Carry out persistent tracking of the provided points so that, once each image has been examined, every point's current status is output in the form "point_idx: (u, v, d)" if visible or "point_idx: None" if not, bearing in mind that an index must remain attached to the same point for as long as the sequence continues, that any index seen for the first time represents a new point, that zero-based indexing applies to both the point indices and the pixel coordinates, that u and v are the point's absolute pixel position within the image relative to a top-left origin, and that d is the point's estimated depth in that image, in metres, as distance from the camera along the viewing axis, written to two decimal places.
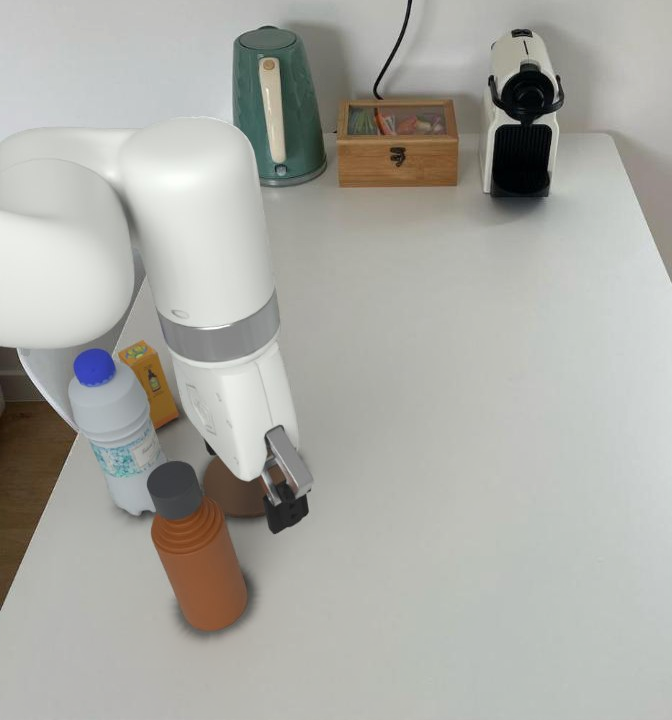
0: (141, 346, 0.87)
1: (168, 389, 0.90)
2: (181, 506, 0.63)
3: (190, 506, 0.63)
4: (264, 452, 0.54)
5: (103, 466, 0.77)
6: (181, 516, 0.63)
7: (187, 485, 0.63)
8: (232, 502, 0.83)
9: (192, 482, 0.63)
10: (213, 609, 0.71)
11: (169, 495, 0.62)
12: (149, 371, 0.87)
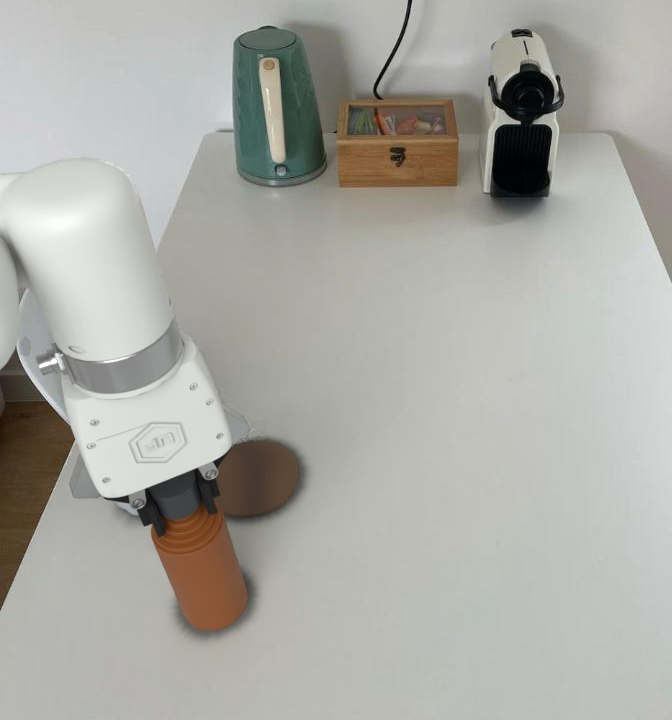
0: None
1: None
2: (181, 506, 0.63)
3: (190, 506, 0.63)
4: None
5: None
6: (181, 516, 0.63)
7: (187, 485, 0.63)
8: (232, 502, 0.83)
9: (192, 482, 0.63)
10: (213, 609, 0.71)
11: (169, 495, 0.62)
12: None
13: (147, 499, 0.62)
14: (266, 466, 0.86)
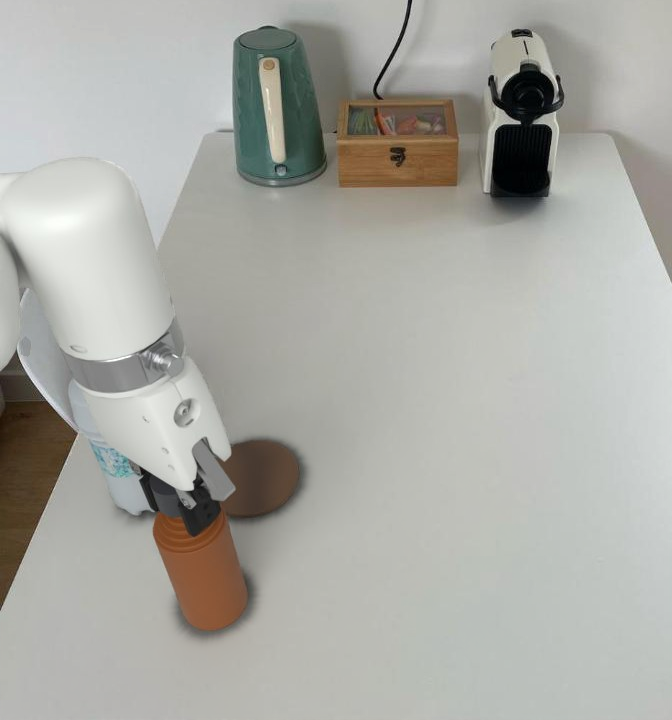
0: None
1: None
2: None
3: None
4: None
5: (103, 466, 0.77)
6: None
7: None
8: (232, 502, 0.83)
9: None
10: (213, 609, 0.71)
11: None
12: None
13: None
14: (266, 466, 0.86)
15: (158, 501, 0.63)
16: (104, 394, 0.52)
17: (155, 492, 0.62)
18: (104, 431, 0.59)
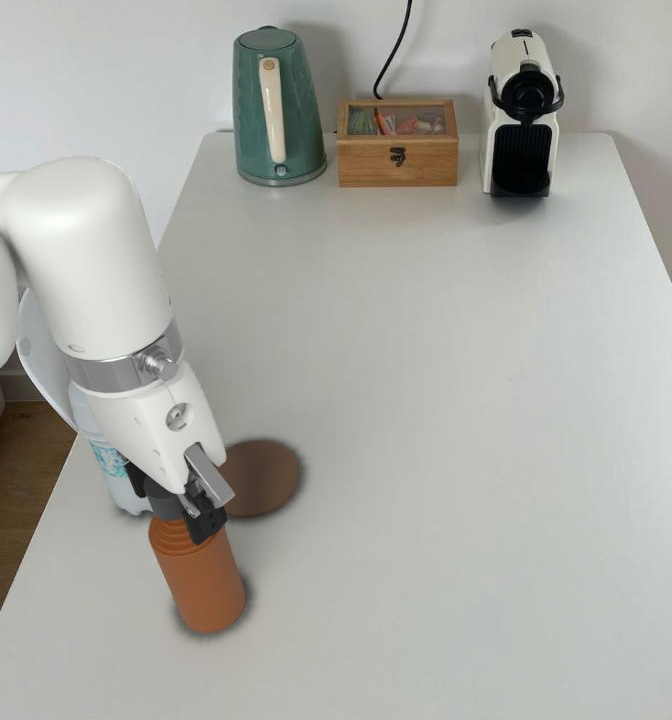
0: None
1: None
2: None
3: None
4: None
5: (103, 466, 0.77)
6: None
7: None
8: (232, 502, 0.83)
9: None
10: (211, 611, 0.71)
11: None
12: None
13: None
14: (266, 466, 0.86)
15: (152, 505, 0.63)
16: (97, 393, 0.52)
17: (149, 496, 0.62)
18: (102, 428, 0.60)
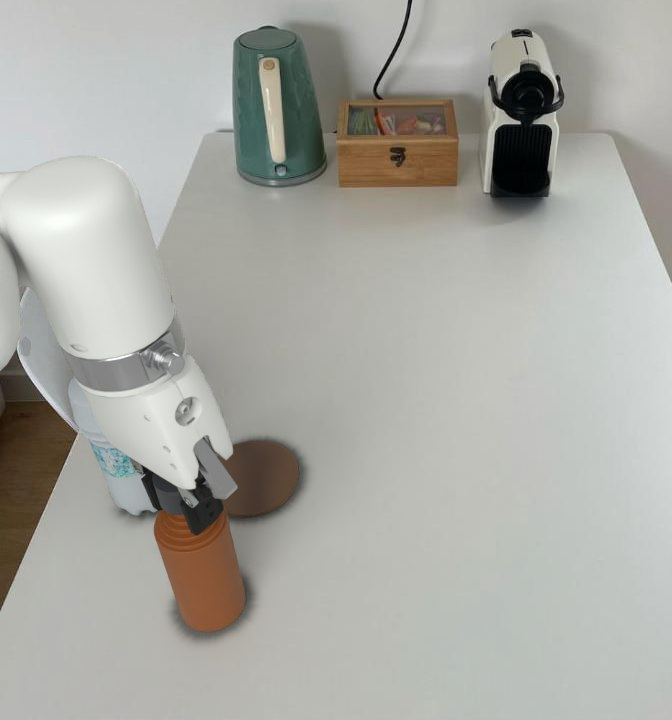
0: None
1: None
2: None
3: None
4: None
5: (103, 466, 0.77)
6: None
7: (157, 481, 0.62)
8: (232, 502, 0.83)
9: (156, 485, 0.62)
10: (212, 609, 0.71)
11: None
12: None
13: None
14: (266, 466, 0.86)
15: None
16: (105, 393, 0.52)
17: (199, 478, 0.63)
18: (106, 430, 0.59)
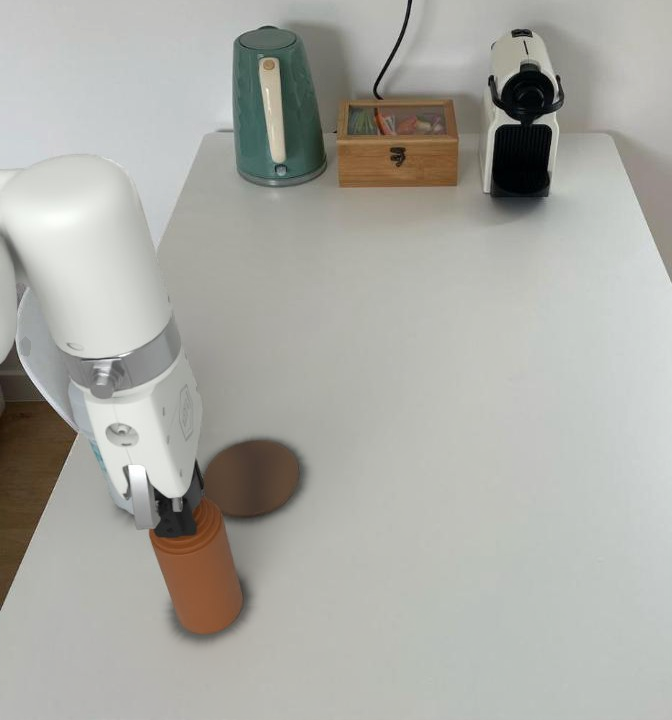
0: None
1: None
2: None
3: None
4: None
5: (103, 466, 0.77)
6: None
7: None
8: (232, 502, 0.83)
9: None
10: (209, 612, 0.71)
11: None
12: None
13: None
14: (266, 466, 0.86)
15: None
16: None
17: None
18: None
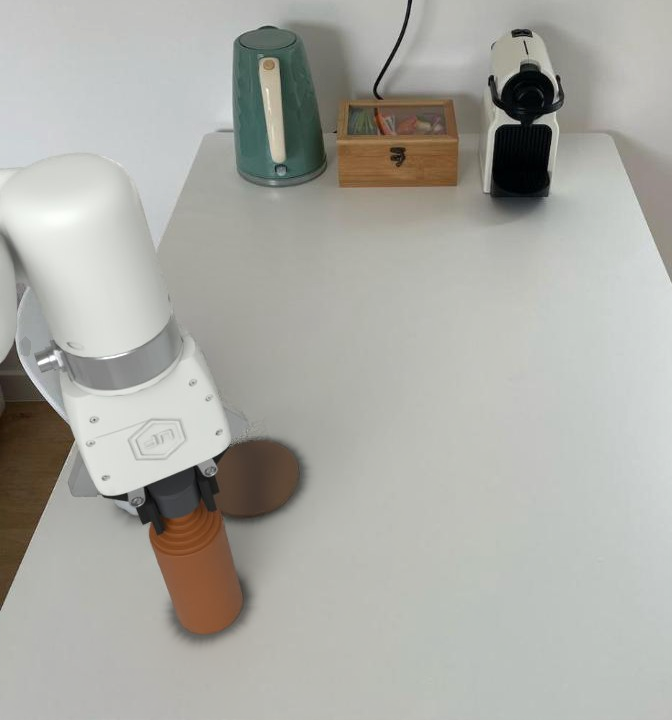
0: None
1: None
2: (177, 505, 0.62)
3: (187, 506, 0.63)
4: None
5: None
6: (177, 515, 0.63)
7: (185, 484, 0.62)
8: (232, 502, 0.83)
9: (190, 482, 0.62)
10: (209, 612, 0.71)
11: (166, 493, 0.61)
12: None
13: (146, 497, 0.62)
14: (266, 466, 0.86)
15: None
16: None
17: None
18: None
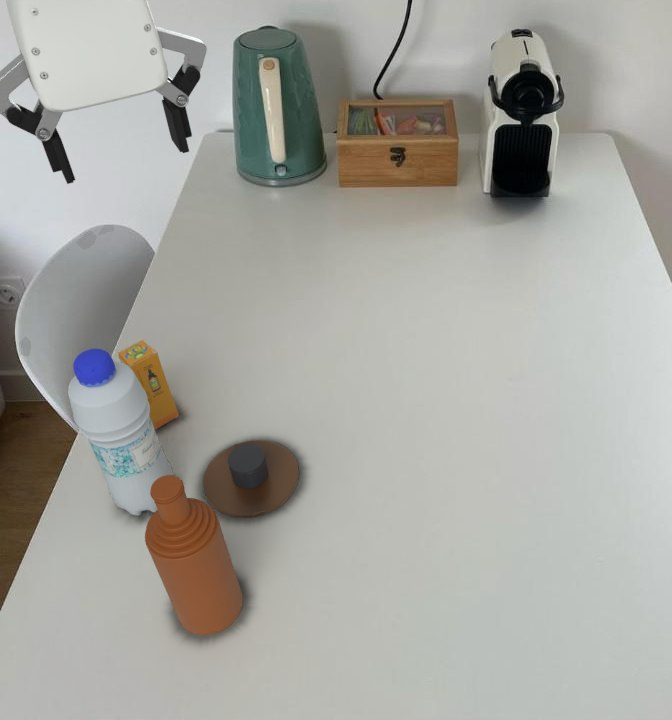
0: (141, 346, 0.87)
1: (168, 389, 0.90)
2: None
3: None
4: None
5: (103, 466, 0.77)
6: None
7: (234, 452, 0.84)
8: (232, 502, 0.83)
9: (230, 454, 0.84)
10: (208, 613, 0.71)
11: (247, 445, 0.85)
12: (149, 371, 0.87)
13: None
14: None
15: (251, 478, 0.83)
16: None
17: (250, 471, 0.82)
18: (60, 81, 0.61)
